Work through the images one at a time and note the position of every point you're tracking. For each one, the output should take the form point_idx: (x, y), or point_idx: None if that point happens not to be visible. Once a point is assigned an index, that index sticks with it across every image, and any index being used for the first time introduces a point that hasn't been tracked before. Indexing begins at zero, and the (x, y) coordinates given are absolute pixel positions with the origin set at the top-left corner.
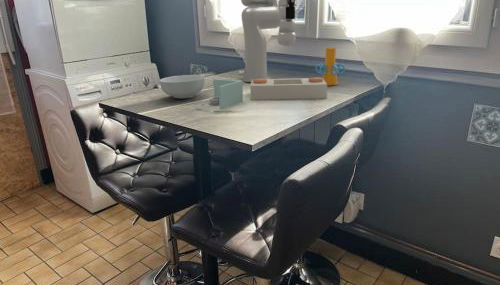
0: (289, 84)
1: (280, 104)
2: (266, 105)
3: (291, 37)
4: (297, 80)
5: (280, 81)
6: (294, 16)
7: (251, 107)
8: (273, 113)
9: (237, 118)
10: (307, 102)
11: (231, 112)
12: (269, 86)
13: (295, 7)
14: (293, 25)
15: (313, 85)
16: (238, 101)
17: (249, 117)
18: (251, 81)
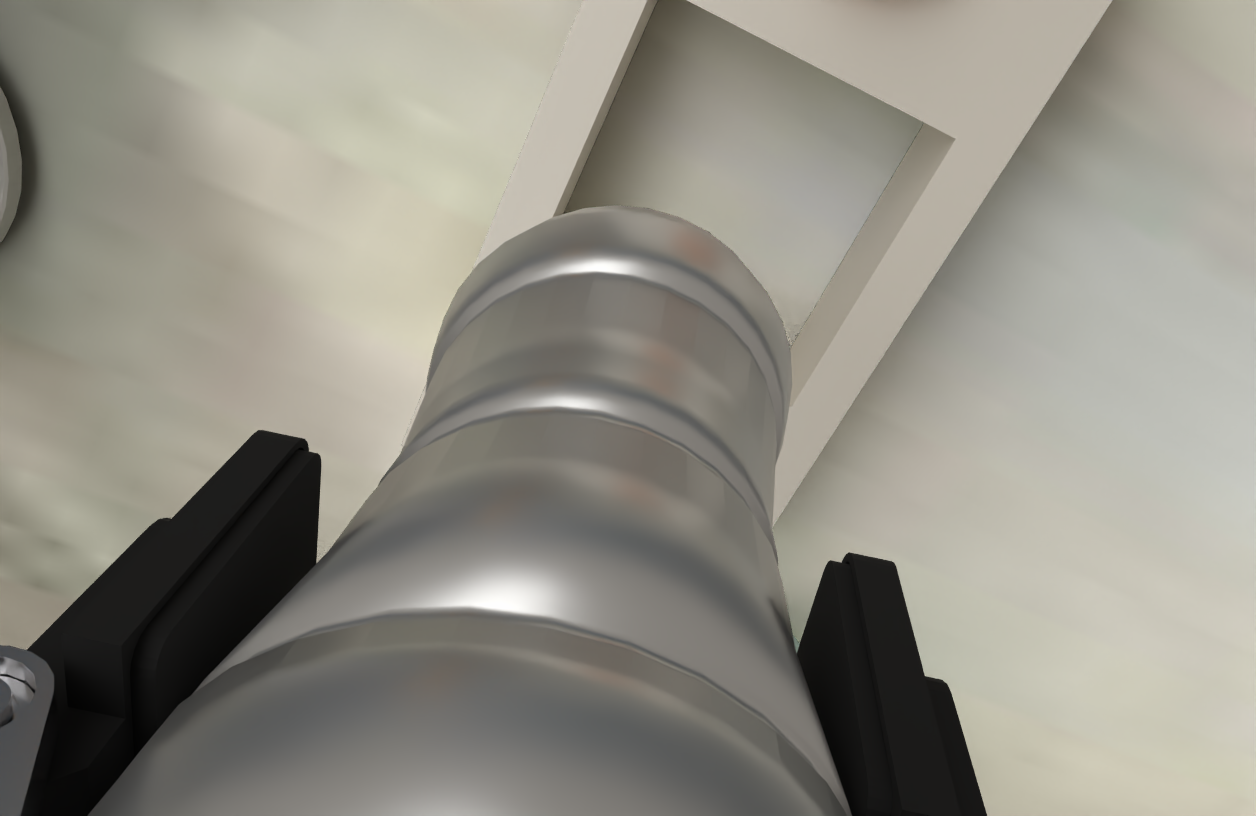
0: (889, 279)
1: (1034, 415)
2: (990, 514)
3: (790, 391)
4: (638, 24)
5: (558, 207)
6: (900, 601)
7: (975, 621)
8: (1249, 582)
9: (1187, 790)
10: (1132, 182)
11: (1019, 763)
12: (814, 456)
13: (775, 690)
14: (751, 431)
15: (1073, 54)
16: (797, 648)
17: (1221, 734)
18: (1, 236)
